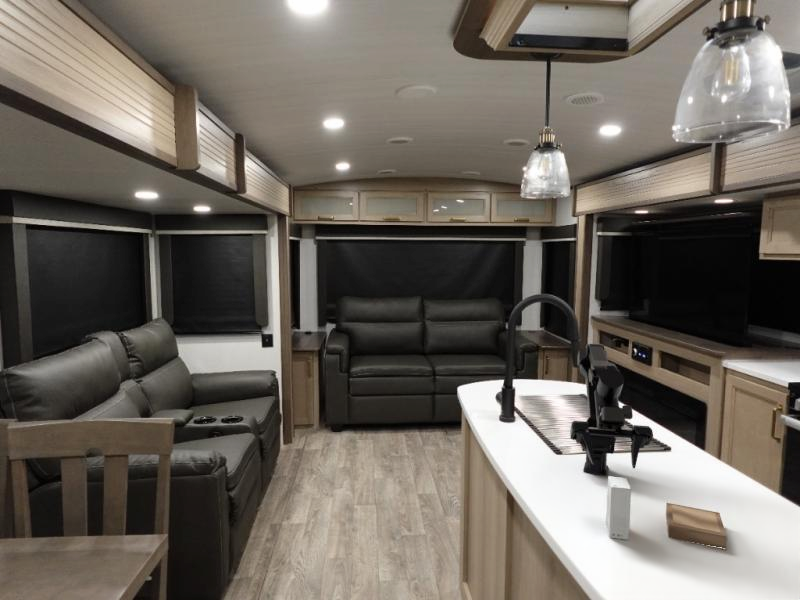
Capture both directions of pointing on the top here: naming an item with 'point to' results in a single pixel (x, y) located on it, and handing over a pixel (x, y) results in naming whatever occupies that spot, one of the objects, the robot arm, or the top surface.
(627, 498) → the skincare box
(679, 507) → the walnut tray
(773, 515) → the top surface
